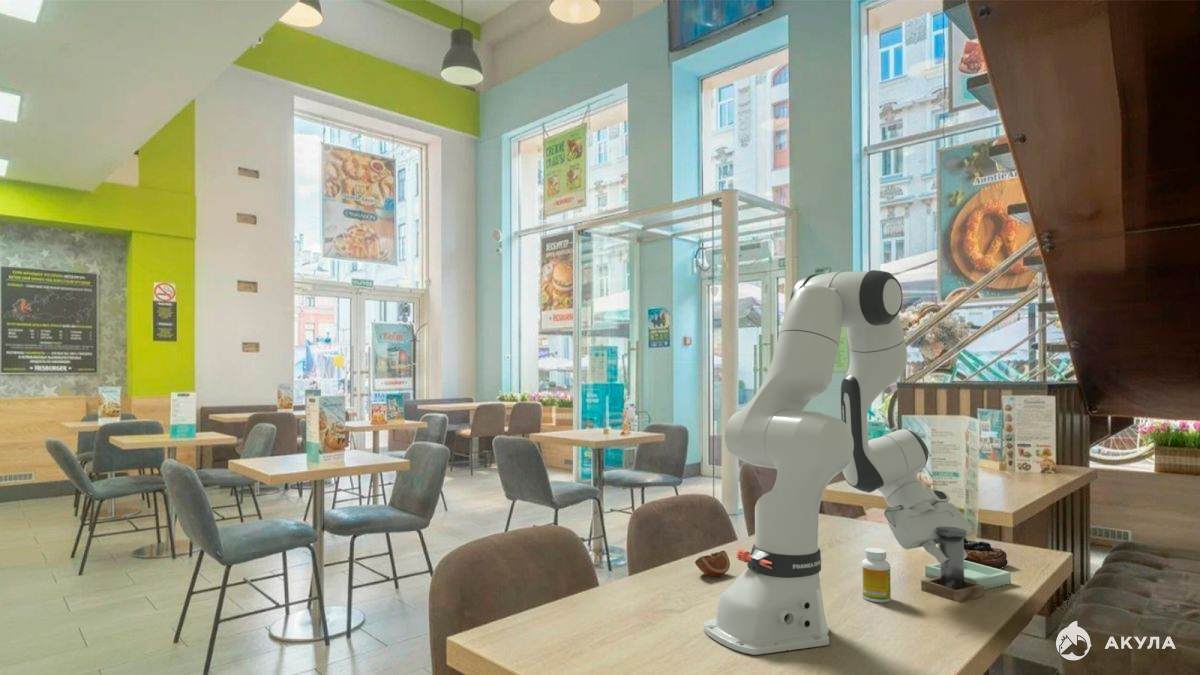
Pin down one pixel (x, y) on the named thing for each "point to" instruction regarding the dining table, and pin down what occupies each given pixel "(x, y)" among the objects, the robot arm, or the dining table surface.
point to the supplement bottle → (876, 576)
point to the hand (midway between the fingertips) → (954, 560)
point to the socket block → (953, 590)
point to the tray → (975, 574)
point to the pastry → (984, 554)
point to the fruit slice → (714, 563)
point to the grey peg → (952, 556)
